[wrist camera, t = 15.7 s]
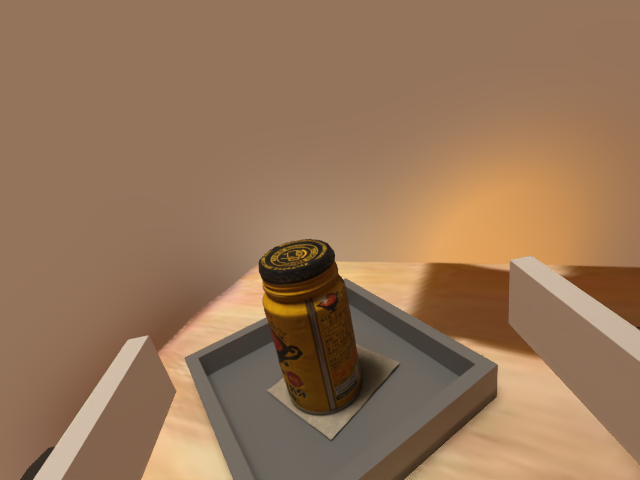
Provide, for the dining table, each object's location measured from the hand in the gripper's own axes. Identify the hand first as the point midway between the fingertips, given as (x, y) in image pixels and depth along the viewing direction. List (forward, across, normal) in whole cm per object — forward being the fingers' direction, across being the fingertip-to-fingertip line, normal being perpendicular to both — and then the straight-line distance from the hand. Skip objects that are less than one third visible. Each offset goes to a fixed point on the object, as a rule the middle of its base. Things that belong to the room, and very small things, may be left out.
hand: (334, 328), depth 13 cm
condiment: (+11, -1, -14) cm, 18 cm away
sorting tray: (+11, -2, -14) cm, 18 cm away
